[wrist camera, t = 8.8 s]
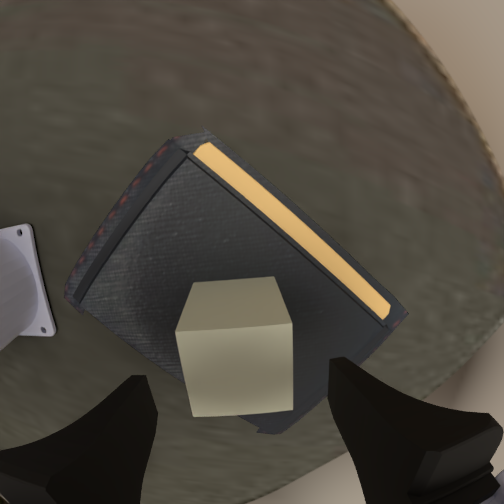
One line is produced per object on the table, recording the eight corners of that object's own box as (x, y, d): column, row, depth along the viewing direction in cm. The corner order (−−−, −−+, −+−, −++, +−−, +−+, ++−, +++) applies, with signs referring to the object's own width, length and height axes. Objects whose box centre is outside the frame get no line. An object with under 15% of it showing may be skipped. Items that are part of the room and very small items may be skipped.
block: (203, 351, 19) (193, 416, 13) (193, 282, 17) (175, 331, 12) (277, 346, 19) (293, 409, 13) (273, 276, 18) (292, 323, 12)
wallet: (46, 296, 17) (193, 98, 15) (59, 287, 19) (197, 106, 17) (268, 454, 21) (421, 322, 19) (266, 438, 23) (408, 312, 21)
